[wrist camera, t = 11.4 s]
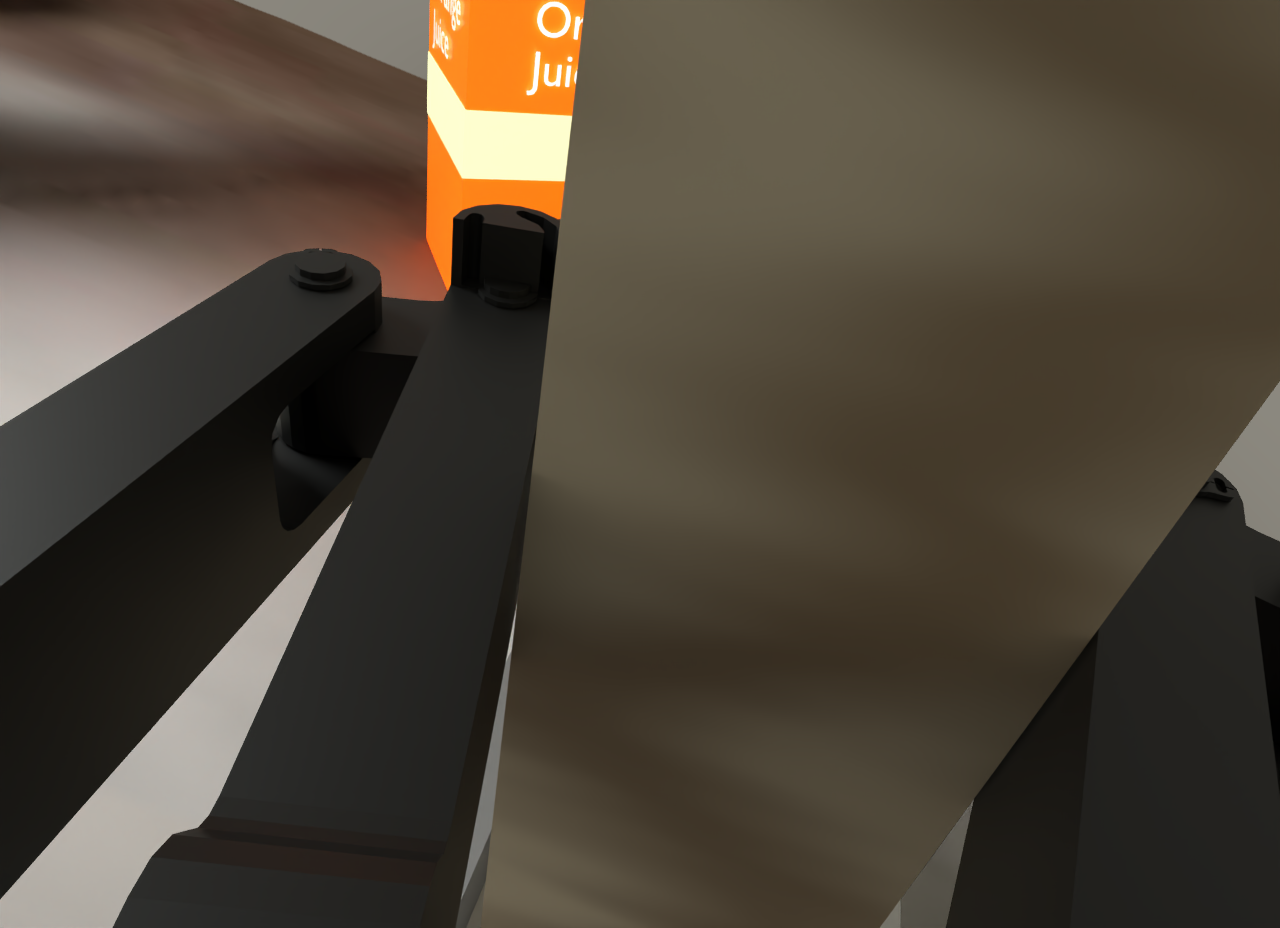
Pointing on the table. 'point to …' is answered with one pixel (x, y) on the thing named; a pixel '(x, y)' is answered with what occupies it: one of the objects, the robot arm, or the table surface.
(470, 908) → the track
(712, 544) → the tall wooden block
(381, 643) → the robot arm
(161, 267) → the table surface
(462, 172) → the orange juice
